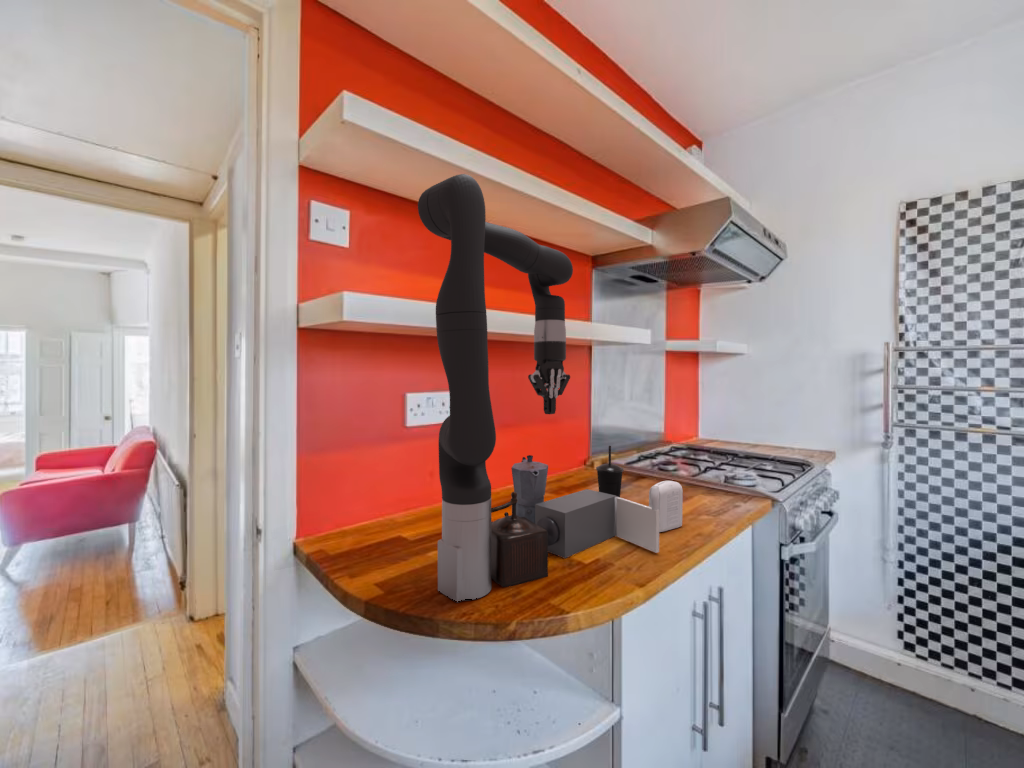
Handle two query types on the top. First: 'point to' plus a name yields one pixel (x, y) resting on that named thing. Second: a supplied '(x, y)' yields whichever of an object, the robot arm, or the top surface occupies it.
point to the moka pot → (529, 486)
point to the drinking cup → (609, 477)
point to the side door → (638, 521)
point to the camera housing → (577, 521)
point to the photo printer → (669, 505)
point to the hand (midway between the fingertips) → (549, 413)
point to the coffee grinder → (517, 548)
